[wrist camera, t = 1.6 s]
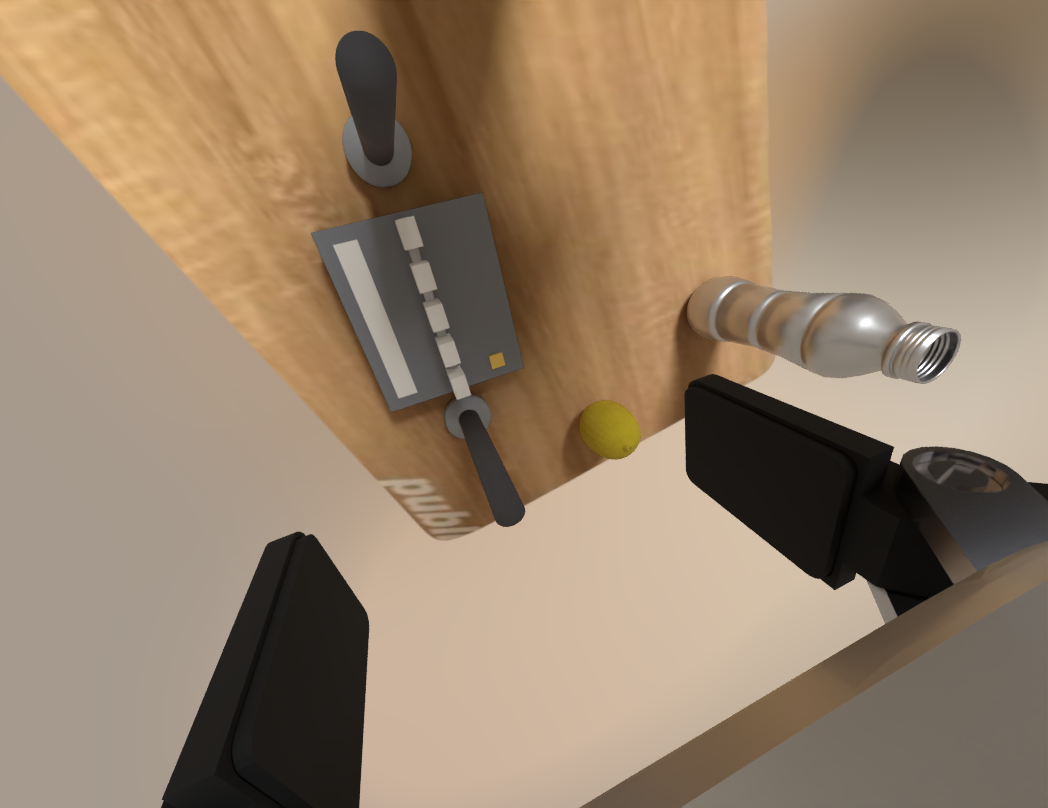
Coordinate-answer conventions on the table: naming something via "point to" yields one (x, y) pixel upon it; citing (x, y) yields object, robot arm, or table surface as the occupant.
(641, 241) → the table surface
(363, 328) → the breaker panel
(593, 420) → the lemon
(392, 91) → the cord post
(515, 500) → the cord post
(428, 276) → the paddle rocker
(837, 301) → the plastic bottle
